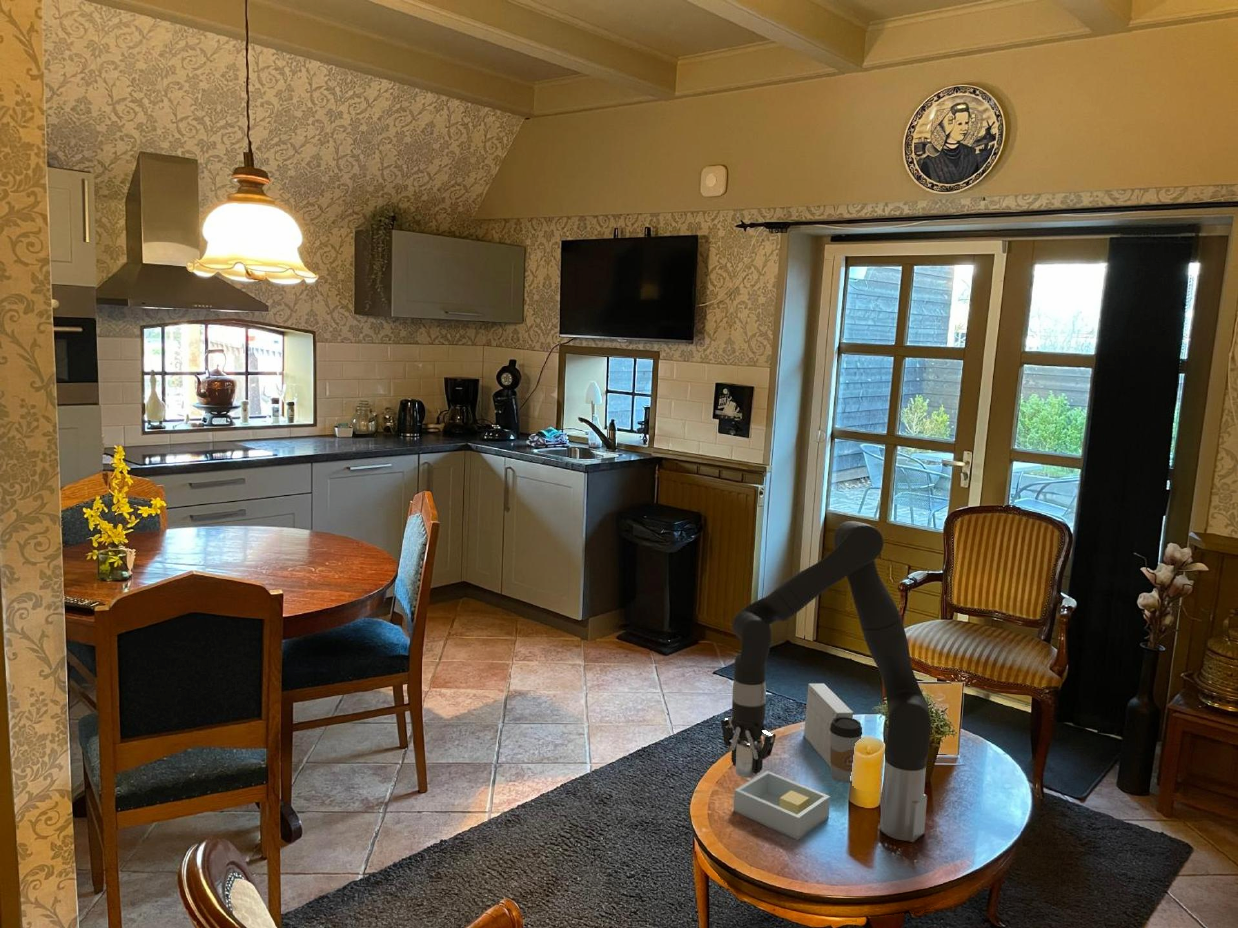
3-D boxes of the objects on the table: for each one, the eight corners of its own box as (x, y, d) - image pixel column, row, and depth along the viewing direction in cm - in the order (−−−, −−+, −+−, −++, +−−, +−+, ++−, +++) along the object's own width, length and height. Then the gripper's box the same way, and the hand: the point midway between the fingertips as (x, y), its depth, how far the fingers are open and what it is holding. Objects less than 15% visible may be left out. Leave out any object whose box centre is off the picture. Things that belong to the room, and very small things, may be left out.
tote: (828, 817, 224) (830, 796, 223) (797, 839, 214) (798, 817, 213) (766, 790, 236) (767, 770, 235) (733, 810, 226) (734, 789, 225)
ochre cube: (790, 809, 226) (791, 790, 225) (808, 817, 222) (809, 797, 222) (778, 817, 222) (779, 797, 221) (796, 824, 219) (798, 805, 218)
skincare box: (850, 768, 249) (854, 712, 247) (831, 769, 248) (834, 713, 246) (820, 734, 270) (824, 681, 267) (803, 735, 269) (806, 682, 266)
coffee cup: (835, 785, 239) (839, 730, 237) (821, 770, 247) (824, 717, 245) (865, 782, 241) (868, 728, 239) (850, 767, 249) (853, 714, 247)
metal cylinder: (761, 772, 214) (762, 743, 213) (749, 779, 211) (750, 750, 210) (743, 764, 218) (744, 736, 217) (731, 772, 214) (732, 743, 213)
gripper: (784, 702, 209) (781, 773, 212) (732, 685, 219) (730, 753, 222) (766, 712, 204) (763, 784, 206) (713, 694, 214) (711, 763, 216)
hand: (746, 768), depth 214 cm, fingers closed on metal cylinder, 5 cm apart
